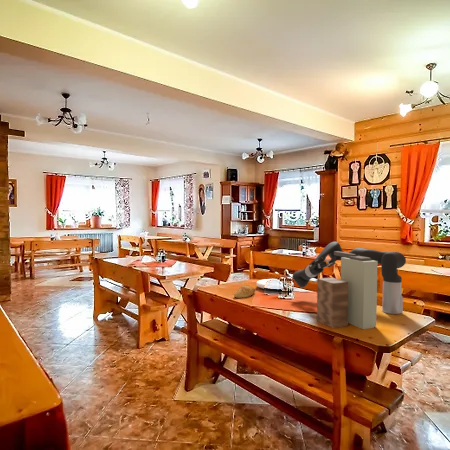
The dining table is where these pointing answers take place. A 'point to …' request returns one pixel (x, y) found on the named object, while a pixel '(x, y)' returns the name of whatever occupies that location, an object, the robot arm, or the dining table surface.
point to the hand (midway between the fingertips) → (329, 258)
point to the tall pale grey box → (361, 291)
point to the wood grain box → (332, 302)
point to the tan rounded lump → (244, 291)
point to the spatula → (351, 256)
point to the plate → (262, 283)
